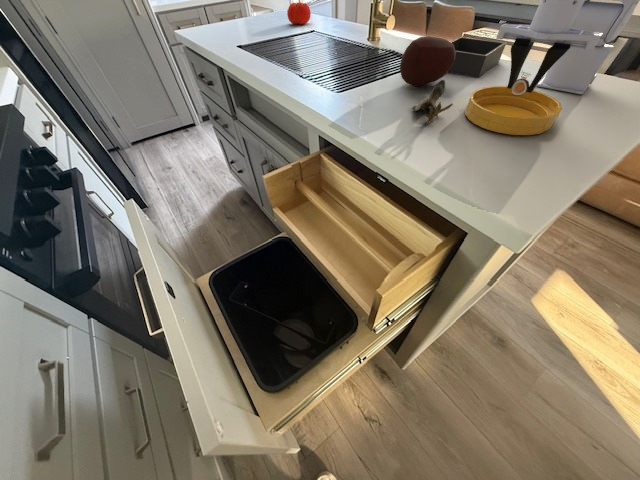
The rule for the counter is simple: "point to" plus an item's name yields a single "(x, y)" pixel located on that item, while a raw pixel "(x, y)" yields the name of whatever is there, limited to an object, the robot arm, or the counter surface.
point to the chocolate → (520, 86)
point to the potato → (426, 60)
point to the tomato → (298, 13)
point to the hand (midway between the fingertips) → (519, 88)
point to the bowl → (512, 111)
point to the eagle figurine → (433, 102)
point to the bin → (475, 56)
